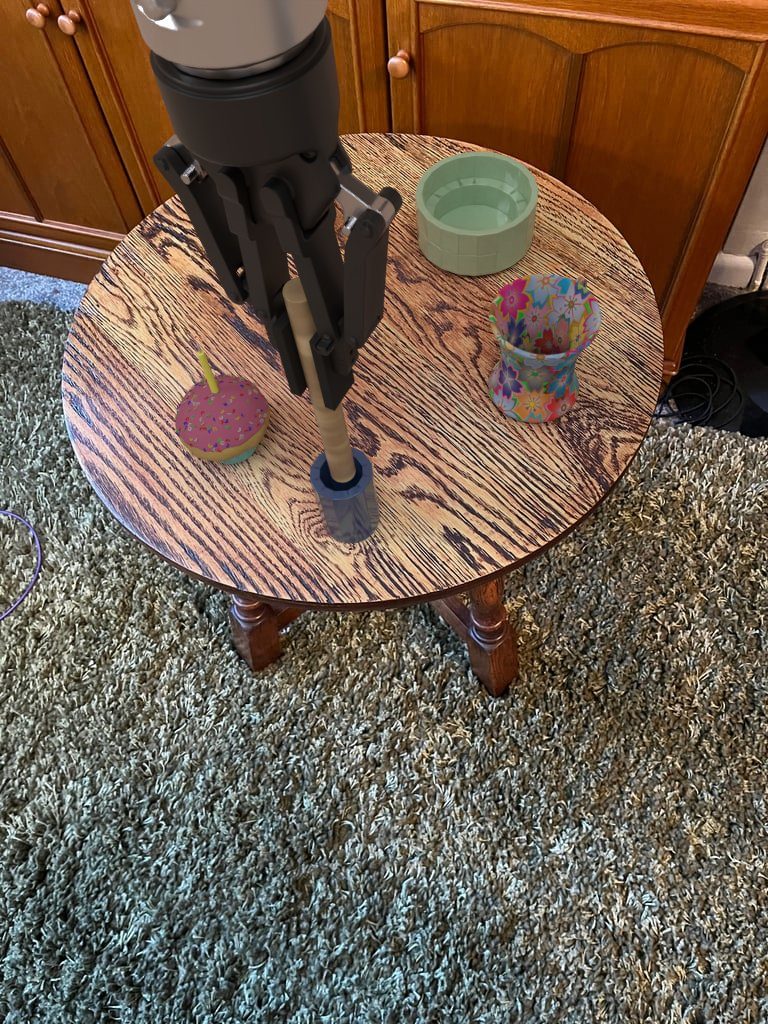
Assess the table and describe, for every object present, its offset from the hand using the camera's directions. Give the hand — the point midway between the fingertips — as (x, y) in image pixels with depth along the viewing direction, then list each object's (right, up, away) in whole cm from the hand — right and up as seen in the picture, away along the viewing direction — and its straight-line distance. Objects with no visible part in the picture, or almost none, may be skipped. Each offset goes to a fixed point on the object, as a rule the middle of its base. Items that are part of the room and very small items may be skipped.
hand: (322, 386), depth 52 cm
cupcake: (-10, -2, +22) cm, 24 cm away
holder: (+1, -9, +17) cm, 19 cm away
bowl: (+14, +22, +32) cm, 41 cm away
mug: (+19, +4, +23) cm, 30 cm away
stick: (+1, -5, +10) cm, 11 cm away
